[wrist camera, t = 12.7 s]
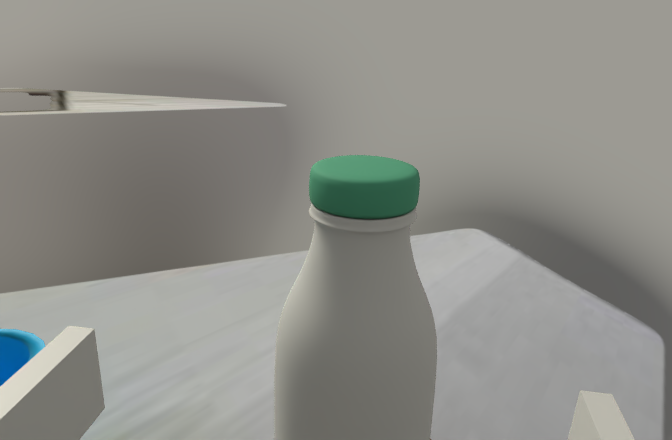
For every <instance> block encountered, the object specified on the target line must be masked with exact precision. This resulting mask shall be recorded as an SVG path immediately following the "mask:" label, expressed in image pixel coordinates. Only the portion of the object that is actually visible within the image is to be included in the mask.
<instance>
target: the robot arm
mask: <svg viewBox="0 0 672 440" xmlns="http://www.w3.org/2000/svg"><path fill="white" fill-rule="evenodd" d="M104 408H105V405H104V398H103V390H102V383H101V375H100V368H99V361H98V353H97V346H96V338H95V331H94V329H91V328H83V327H75V326H68V327H67V328H66V329H65V330H64V331H62V332H61V333H60V334H59V335H58V336H57V337H56V338H54V339H53V340H52V341H51V342H50V343H49V344H48V345H47V346H45V347H44V348H43V349H42V350H41V351H40V352H39V353H38V354H36V355H35V356H34V357H33V358H32V359H31V360H30V361H29V362H27V363H26V364H25V365H24V366H23V367H22V368H21V369H19V370H18V371H17V372H16V373H15V374H14V375H13V376H12V377H10V378H9V379H8V380H7V381H6V382H5V383H4V384H3V385H1V386H0V440H80V438H81V437H82V436H83V435H84V433H85V432H86V431H87V430H88V428H89V427H90V426H91V425H92V423H93V422H94V421H95V420H96V418H97V417H98V416H99V415H100V413H101V412H102V411H103V410H104ZM568 440H635V439H634V437H633V435H632V433H631V431H630V429H629V427H628V425H627V423H626V421H625V419H624V417H623V415H622V413H621V411H620V409H619V407H618V405H617V403H616V401H615V399H614V397H613V395H612V394H605V393H597V392H590V391H582V390H580V393H579V397H578V401H577V405H576V409H575V413H574V417H573V421H572V425H571V429H570V433H569V437H568Z"/></svg>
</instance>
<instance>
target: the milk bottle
mask: <svg viewBox="0 0 672 440" xmlns="http://www.w3.org/2000/svg"><path fill="white" fill-rule="evenodd" d="M419 183H420V178H419V173H418V170H417V169H416V168H415V167H414V166H412V165H410V164H408V163H405V162H403V161H399V160H396V159H391V158H385V157H378V156H365V155H349V156H339V157H332V158H327V159H323V160H321V161H318V162H317V163H315V164H314V165H313V166H312V168H311V172H310V182H309V195H310V200H311V207H310V209H309V214H310V216H311V217H312V218H313V219H314V221H315V228H314V234H313V239H312V242H311V246H310V249H309V252H308V255H307V257H306V260H305V262H304V265H303V267H302V269H301V271H300V273H299V275H298V277H297V279H296V281H295V283H294V285H293V287H292V289H291V291H290V293H289V295H288V297H287V299H286V302H285V305H284V308H283V310H282V313H281V317H280V321H279V325H278V332H277V339H276V349H275V375H274V440H430V433H431V423H432V413H433V403H434V393H435V380H436V364H437V339H436V330H435V323H434V318H433V314H432V310H431V307H430V304H429V301H428V299H427V296H426V293H425V291H424V288H423V286H422V283H421V281H420V278H419V276H418V273H417V270H416V266H415V262H414V259H413V254H412V249H411V243H410V225H411V224H413V223H414V222H415V220H416V218H417V214H416V212H415V211H416V205H417V203H418V196H419V186H420V184H419Z"/></svg>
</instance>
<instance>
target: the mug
mask: <svg viewBox="0 0 672 440" xmlns="http://www.w3.org/2000/svg"><path fill="white" fill-rule="evenodd" d="M44 347H45V344H44V341H43V340H41V339H40V338H39V337H37V336H36V335H34V334H33V333H29V332H25V331H21V330H17V329H0V386H1V385H3V384H4V383H5V382H6V381H7V380H8V379H9V378H10V377H12V376H13V375H14V374H15V373H16V372H17V371H18V370H19V369H21V368H22V367H23V366H24V365H25V364H26V363H27V362H29V361H30V360H31V359H32V358H33V357H34V356H35V355H36V354H38V353H39V352H40V351H41V350H42V349H43V348H44Z"/></svg>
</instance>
